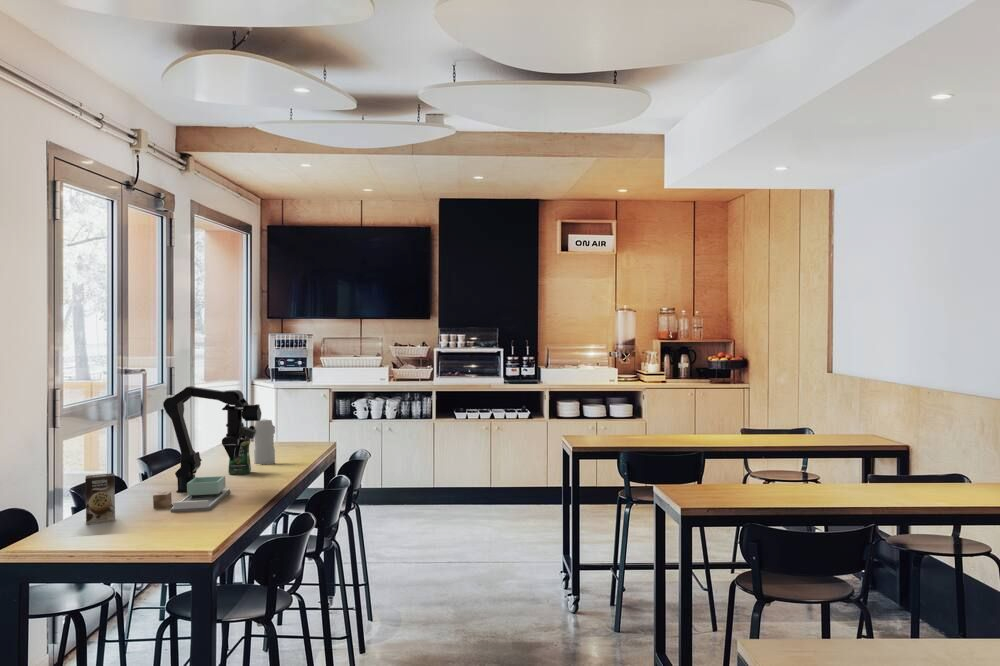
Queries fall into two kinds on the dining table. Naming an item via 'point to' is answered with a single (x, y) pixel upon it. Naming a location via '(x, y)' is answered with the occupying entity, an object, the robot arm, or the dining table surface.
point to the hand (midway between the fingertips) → (234, 458)
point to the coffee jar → (241, 460)
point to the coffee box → (100, 498)
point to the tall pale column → (264, 442)
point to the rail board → (199, 502)
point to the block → (162, 500)
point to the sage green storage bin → (206, 485)
